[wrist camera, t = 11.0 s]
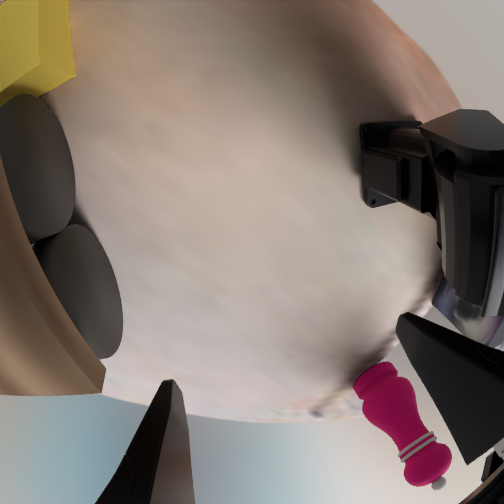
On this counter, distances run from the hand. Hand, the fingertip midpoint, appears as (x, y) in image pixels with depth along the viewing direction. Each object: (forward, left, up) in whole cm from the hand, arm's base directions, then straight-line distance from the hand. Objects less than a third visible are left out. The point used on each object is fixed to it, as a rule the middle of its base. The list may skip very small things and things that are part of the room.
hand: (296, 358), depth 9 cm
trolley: (+15, -5, -11) cm, 19 cm away
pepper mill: (-13, +25, -11) cm, 30 cm away
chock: (+11, -18, -11) cm, 23 cm away
